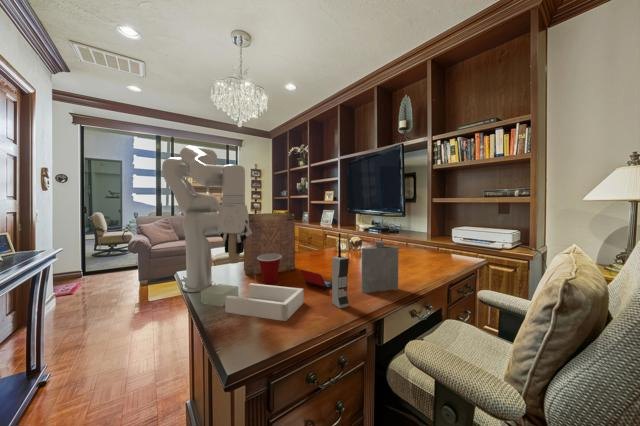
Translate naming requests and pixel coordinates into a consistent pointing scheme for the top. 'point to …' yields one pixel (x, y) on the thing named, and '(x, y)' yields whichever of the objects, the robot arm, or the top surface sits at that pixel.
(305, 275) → the handheld game console
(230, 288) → the sage block
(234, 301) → the cubby
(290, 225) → the book
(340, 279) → the grey brick cell phone
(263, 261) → the plastic cup
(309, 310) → the top surface
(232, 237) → the handle
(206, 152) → the robot arm
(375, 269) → the hip flask
